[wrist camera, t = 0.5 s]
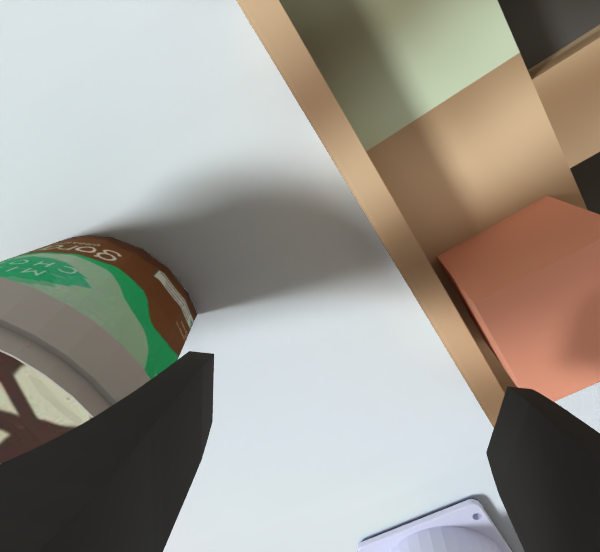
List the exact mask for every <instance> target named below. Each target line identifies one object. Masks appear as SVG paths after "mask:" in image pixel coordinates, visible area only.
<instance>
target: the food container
mask: <svg viewBox="0 0 600 552" xmlns="http://www.w3.org/2000/svg"><path fill="white" fill-rule="evenodd" d="M196 315H197V314H196V311H195V309H194V307H193V304H192V302H191V299H190V297H189V295H188V293H187V292H186V291H185V289H184V288H183V287H182V285H181V284H180V283H179V281H178V280H177V279H176V278H175V276H174V275H173V274H172V272H171V271H170V270H169V269H168V268H167V267H166V266H164V265H163V264H161V263H160V262H159V261H157V260H156V259H155V258H153V257H152V256H151V255H149V254H148V253H147V252H145V251H144V250H143V249H140V248H138V247H135V246H132V245H130V244H127V243H125V242H122V241H119V240H117V239H114V238H109V237H98V236H80V237H73V238H69V239H66V240H63V241H59V242H56V243H53V244H51V245H48V246H45V247H42V248H39V249H36V250H33V251H30V252H27V253H25V254H22V255H19V256H16V257H13V258H10V259H7V260H4V261H2V262H0V464H1V463H3V462H6V461H8V460H10V459H12V458H14V457H17V456H19V455H21V454H23V453H26V452H28V451H30V450H32V449H34V448H37V447H39V446H41V445H43V444H45V443H47V442H49V441H51V440H53V439H55V438H57V437H59V436H60V435H62V434H64V433H66V432H68V431H70V430H72V429H74V428H76V427H77V426H79V425H81V424H83V423H84V422H86V421H88V420H90V419H91V418H93V417H95V416H96V415H98V414H100V413H101V412H103V411H104V410H106V409H107V408H109V407H111V406H112V405H114V404H115V403H117V402H118V401H120V400H122V399H123V398H125V397H126V396H128V395H129V394H131V393H132V392H134V391H135V390H137V389H138V388H140V387H141V386H142V385H144V384H145V383H147V382H148V381H149V380H151V379H152V378H154V377H155V376H156V375H158V374H159V373H161V372H162V371H163V370H165V369H166V368H167V367H169V366H170V365H171V364H173V363H174V362H175V361H177V360H178V357H179V355H180V353H181V350H182V348H183V346H184V343H185V341H186V339H187V336H188V334H189V332H190V329H191V327H192V325H193V322H194V320H195V318H196Z"/></svg>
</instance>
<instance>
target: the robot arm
mask: <svg viewBox="0 0 600 552" xmlns="http://www.w3.org/2000/svg"><path fill="white" fill-rule="evenodd" d="M213 373H214V354H210V353H200V352H191V351H189V352H188V353H186V354H185V355H184V356H182V357H181V358H180V359H178V360H177V361H175V362H174V363H173V364H171V365H170V366H169V367H167V368H166V369H165V370H163V371H162V372H161V373H159V374H158V375H156V376H155V377H154V378H152V379H151V380H149V381H148V382H147V383H145V384H144V385H142V386H141V387H140V388H138V389H137V390H135V391H134V392H132V393H131V394H129V395H128V396H126V397H125V398H123V399H122V400H120V401H118V402H117V403H115V404H114V405H112V406H111V407H109V408H107V409H106V410H104V411H103V412H101V413H100V414H98V415H96V416H95V417H93V418H91V419H90V420H88V421H86V422H84V423H83V424H81V425H79V426H77V427H76V428H74V429H72V430H70V431H68V432H66V433H64V434H62V435H60V436H59V437H57V438H55V439H53V440H51V441H49V442H47V443H45V444H43V445H41V446H39V447H37V448H34V449H32V450H30V451H28V452H26V453H23V454H21V455H19V456H17V457H14V458H12V459H10V460H8V461H6V462H3V463H1V464H0V552H163V550H164V547H165V545H166V543H167V540H168V538H169V536H170V533H171V531H172V529H173V526H174V524H175V522H176V519H177V517H178V514H179V512H180V510H181V507H182V505H183V503H184V500H185V498H186V496H187V493H188V491H189V488H190V486H191V484H192V481H193V479H194V477H195V474H196V472H197V469H198V467H199V464H200V462H201V460H202V456H203V453H204V449H205V446H206V443H207V439H208V435H209V432H210V428H211V425H212V415H213ZM486 453H487V457H488V460H489V464H490V467H491V471H492V474H493V477H494V480H495V483H496V486H497V490H498V493H499V495H500V497H501V500H502V502H503V504H504V507H505V509H506V511H507V513H508V516H509V518H510V520H511V522H512V524H513V527H514V529H515V531H516V533H517V535H518V538H519V540H520V542H521V544H522V546H523V548H524V551H525V552H600V433H598V432H597V431H596V430H594V429H593V428H591V427H590V426H588V425H587V424H585V423H584V422H583V421H581V420H580V419H578V418H577V417H575V416H574V415H572V414H571V413H569V412H568V411H567V410H565V409H564V408H562V407H561V406H559V405H558V404H556V403H555V402H553V401H552V400H550V399H548V398H547V397H545V396H544V395H542V394H540V393H539V392H537V391H535V390H533V389H527V388H518V387H509V386H507V389H506V392H505V395H504V398H503V402H502V405H501V408H500V411H499V414H498V417H497V421H496V424H495V427H494V430H493V433H492V437H491V440H490V443H489V446H488V449H487V452H486ZM476 513H477V514H476ZM357 552H512V551H511V549H510V548H509V546H508V545H507V543H506V542H505V540H504V539H503V537H502V536H501V534H500V533H499V531H498V530H497V528H496V526H495V525H494V523H493V522H492V520H491V519H490V517H489V516H488V514H487V513H486V511H485V510H484V508H483V507H482V505H481V504H480V502H479V501H478V500H475V499H469V500H466V501H463V502H461V503H458V504H456V505H453V506H451V507H448V508H446V509H443V510H441V511H438V512H436V513H433V514H431V515H428V516H426V517H423V518H421V519H418V520H416V521H413V522H411V523H408V524H406V525H403V526H401V527H398V528H395V529H393V530H390V531H388V532H385V533H383V534H380V535H378V536H375V537H373V538H370V539H368V540H365V541H363V542H361V543H359V544H358V545H357Z"/></svg>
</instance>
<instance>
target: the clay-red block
mask: <svg viewBox="0 0 600 552" xmlns="http://www.w3.org/2000/svg"><path fill="white" fill-rule="evenodd" d="M437 258H438V260H439V261H440V263H441V265H442V267H443V269H444V270H445V272H446V274H447V276H448V277H449V279H450V281H451V283H452V284H453V286H454V288H455V290H456V292H457V293H458V295H459V297H460V299H461V300H462V302H463V304H464V306H465V307H466V309H467V311H468V313H469V315H470V316H471V318H472V320H473V322H474V323H475V325H476V327H477V329H478V330H479V332H480V334H481V336H482V337H483V339H484V341H485V343H486V344H487V345H488V347H489V348H490V350H491V351H492V352H493V354H494V355H495V357H496V358H497V359H498V361H499V362H500V364H501V365H502V366H503V368H504V369H505V371H506V372H507V373H508V375H509V376H510V378H511V379H512V380H513V382H514V383H515V385H516V386H517V387H518V388H527V389H533V390H535V391H537V392H539V393H540V394H542V395H544V396H545V397H547V398H548V399H550V400H552V401H553V402H554V401H556V400H559V399H561V398H563V397H566V396H568V395H570V394H573V393H575V392H577V391H580V390H582V389H584V388H586V387H589V386H591V385H593V384H596V383H598V382H600V215H599V214H597V213H594V212H591V211H588V210H585V209H583V208H580V207H577V206H574V205H572V204H569V203H566V202H563V201H560V200H558V199H555V198H552V197H549V196H545V197H544V198H542V199H540V200H538V201H536V202H535V203H533V204H531V205H529V206H527V207H525V208H524V209H522V210H520V211H518V212H516V213H515V214H513V215H511V216H509V217H507V218H506V219H504V220H502V221H500V222H498V223H497V224H495V225H493V226H491V227H489V228H487V229H486V230H484V231H482V232H480V233H478V234H477V235H475V236H473V237H471V238H469V239H468V240H466V241H464V242H462V243H460V244H459V245H457V246H455V247H453V248H451V249H449V250H448V251H446V252H444V253H442V254H440V255H439V256H437Z"/></svg>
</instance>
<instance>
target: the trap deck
mask: <svg viewBox="0 0 600 552" xmlns="http://www.w3.org/2000/svg"><path fill="white" fill-rule="evenodd" d="M236 1H237V2H238V4H239V6H240V7H241V9H242V11H243V12H244V14H245V15H246V17H247V19H248V20H249V22H250V24H251V25H252V27H253V29H254V30H255V32H256V34H257V35H258V37H259V39H260V40H261V42H262V44H263V45H264V47H265V49H266V50H267V52H268V54H269V55H270V57H271V59H272V60H273V62H274V64H275V65H276V67H277V69H278V70H279V72H280V74H281V75H282V77H283V79H284V80H285V82H286V84H287V85H288V87H289V89H290V90H291V92H292V94H293V95H294V97H295V98H296V100H297V102H298V103H299V105H300V107H301V108H302V110H303V112H304V113H305V115H306V117H307V118H308V120H309V122H310V123H311V125H312V127H313V128H314V130H315V132H316V133H317V135H318V137H319V138H320V140H321V142H322V143H323V145H324V147H325V148H326V150H327V152H328V153H329V155H330V157H331V158H332V160H333V162H334V163H335V165H336V167H337V168H338V170H339V172H340V173H341V175H342V176H343V178H344V180H345V181H346V183H347V185H348V186H349V188H350V190H351V191H352V193H353V195H354V196H355V198H356V200H357V201H358V203H359V205H360V206H361V208H362V210H363V211H364V213H365V215H366V216H367V218H368V220H369V221H370V223H371V225H372V226H373V228H374V230H375V231H376V233H377V235H378V236H379V238H380V240H381V241H382V243H383V245H384V246H385V248H386V250H387V251H388V253H389V255H390V256H391V258H392V259H393V261H394V263H395V264H396V266H397V268H398V269H399V271H400V273H401V274H402V276H403V278H404V279H405V281H406V283H407V284H408V286H409V288H410V289H411V291H412V293H413V294H414V296H415V298H416V299H417V301H418V303H419V304H420V306H421V308H422V309H423V311H424V313H425V314H426V316H427V318H428V319H429V321H430V323H431V324H432V326H433V328H434V329H435V331H436V333H437V334H438V336H439V338H440V339H441V341H442V342H443V344H444V346H445V347H446V349H447V351H448V352H449V354H450V356H451V357H452V359H453V361H454V362H455V364H456V366H457V367H458V369H459V371H460V372H461V374H462V376H463V377H464V379H465V381H466V382H467V384H468V386H469V387H470V389H471V391H472V392H473V394H474V396H475V397H476V399H477V401H478V402H479V404H480V406H481V407H482V409H483V411H484V412H485V414H486V416H487V417H488V419H489V420H490V422H491V424H492V425H493V427H495V424H496V421H497V417H498V414H499V411H500V408H501V405H502V402H503V398H504V395H505V392H506V389H507V386H509V387H517V386H516V385H515V383H514V382H513V380H512V379H511V378H510V376H509V375H508V373H507V372H506V371H505V369H504V368H503V366H502V365H501V364H500V362H499V361H498V359H497V358H496V357H495V355H494V354H493V352H492V351H491V350H490V348H489V347H488V345H487V344H486V343H485V341H484V339H483V337H482V336H481V334H480V332H479V330H478V329H477V327H476V325H475V323H474V322H473V320H472V318H471V316H470V315H469V313H468V311H467V309H466V307H465V306H464V304H463V302H462V300H461V299H460V297H459V295H458V293H457V292H456V290H455V288H454V286H453V284H452V283H451V281H450V279H449V277H448V276H447V274H446V272H445V270H444V269H443V267H442V265H441V263H440V261H439V260H438V258H437V256H439V255H440V254H442V253H444V252H446V251H448V250H449V249H451V248H453V247H455V246H457V245H459V244H460V243H462V242H464V241H466V240H468V239H469V238H471V237H473V236H475V235H477V234H478V233H480V232H482V231H484V230H486V229H487V228H489V227H491V226H493V225H495V224H497V223H498V222H500V221H502V220H504V219H506V218H507V217H509V216H511V215H513V214H515V213H516V212H518V211H520V210H522V209H524V208H525V207H527V206H529V205H531V204H533V203H535V202H536V201H538V200H540V199H542V198H544V197H545V196H549V197H552V198H555V199H558V200H560V201H563V202H566V203H569V204H572V205H574V206H577V207H580V208H583V209H585V210H588V211H591V212H594V213H597V214H599V215H600V0H236Z"/></svg>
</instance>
